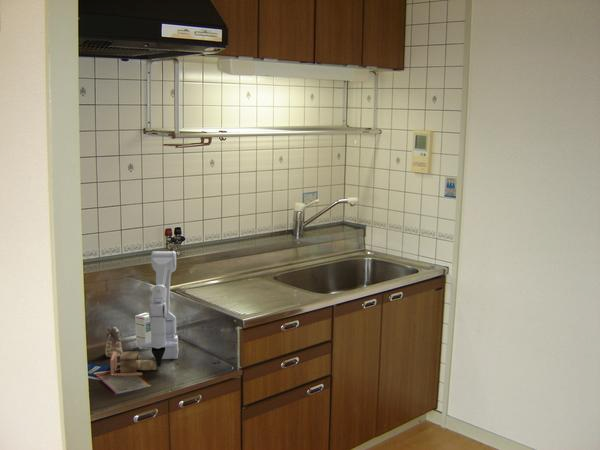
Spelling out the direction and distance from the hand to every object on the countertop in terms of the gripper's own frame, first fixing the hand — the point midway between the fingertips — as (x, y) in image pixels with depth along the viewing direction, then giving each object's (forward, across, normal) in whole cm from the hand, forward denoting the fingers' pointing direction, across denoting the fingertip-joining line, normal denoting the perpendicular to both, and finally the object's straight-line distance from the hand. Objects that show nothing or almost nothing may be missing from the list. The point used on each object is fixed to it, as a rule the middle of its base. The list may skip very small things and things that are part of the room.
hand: (158, 365), depth 279 cm
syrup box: (+2, -8, +28) cm, 29 cm away
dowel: (+1, -7, 0) cm, 7 cm away
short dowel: (+2, -12, +9) cm, 15 cm away
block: (+1, -11, 0) cm, 11 cm away
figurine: (+2, -20, +19) cm, 28 cm away
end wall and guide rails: (+1, -11, 0) cm, 11 cm away
